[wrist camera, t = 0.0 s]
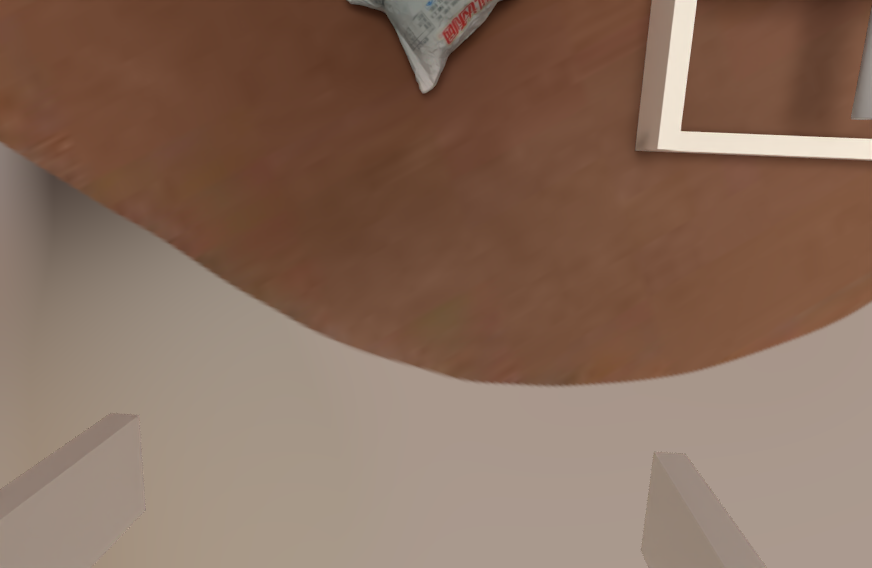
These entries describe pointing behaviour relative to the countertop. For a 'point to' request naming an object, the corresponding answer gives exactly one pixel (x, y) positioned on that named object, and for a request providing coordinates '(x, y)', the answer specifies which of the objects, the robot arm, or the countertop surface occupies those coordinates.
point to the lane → (668, 93)
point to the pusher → (864, 81)
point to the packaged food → (431, 30)
